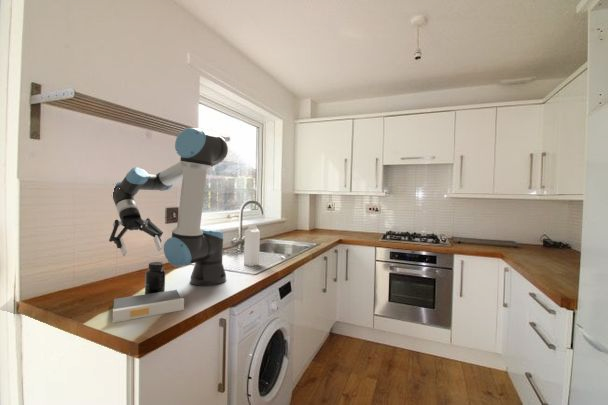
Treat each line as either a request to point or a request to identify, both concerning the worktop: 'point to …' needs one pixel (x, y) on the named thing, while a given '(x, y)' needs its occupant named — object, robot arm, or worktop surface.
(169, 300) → the open storage tray
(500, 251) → the worktop surface
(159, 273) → the supplement bottle
